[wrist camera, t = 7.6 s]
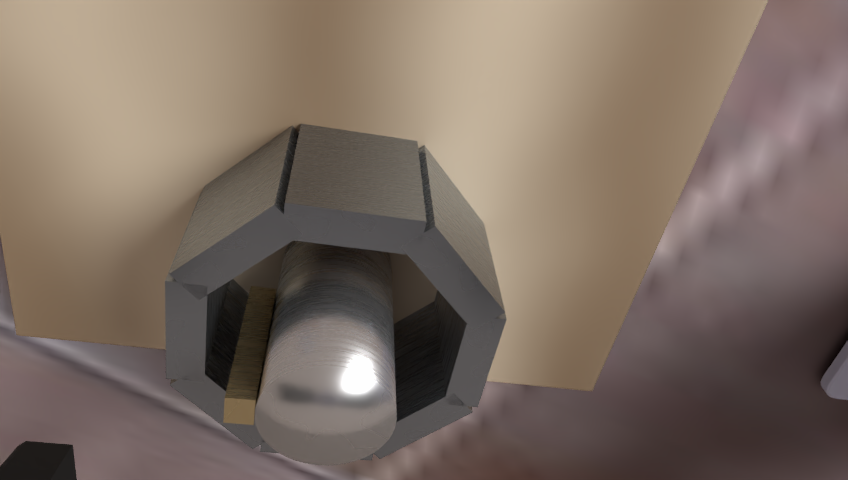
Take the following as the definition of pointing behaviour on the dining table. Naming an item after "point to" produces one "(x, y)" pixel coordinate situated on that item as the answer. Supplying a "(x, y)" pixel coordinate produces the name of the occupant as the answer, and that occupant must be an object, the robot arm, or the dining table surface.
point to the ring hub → (348, 227)
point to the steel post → (319, 356)
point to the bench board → (367, 113)
